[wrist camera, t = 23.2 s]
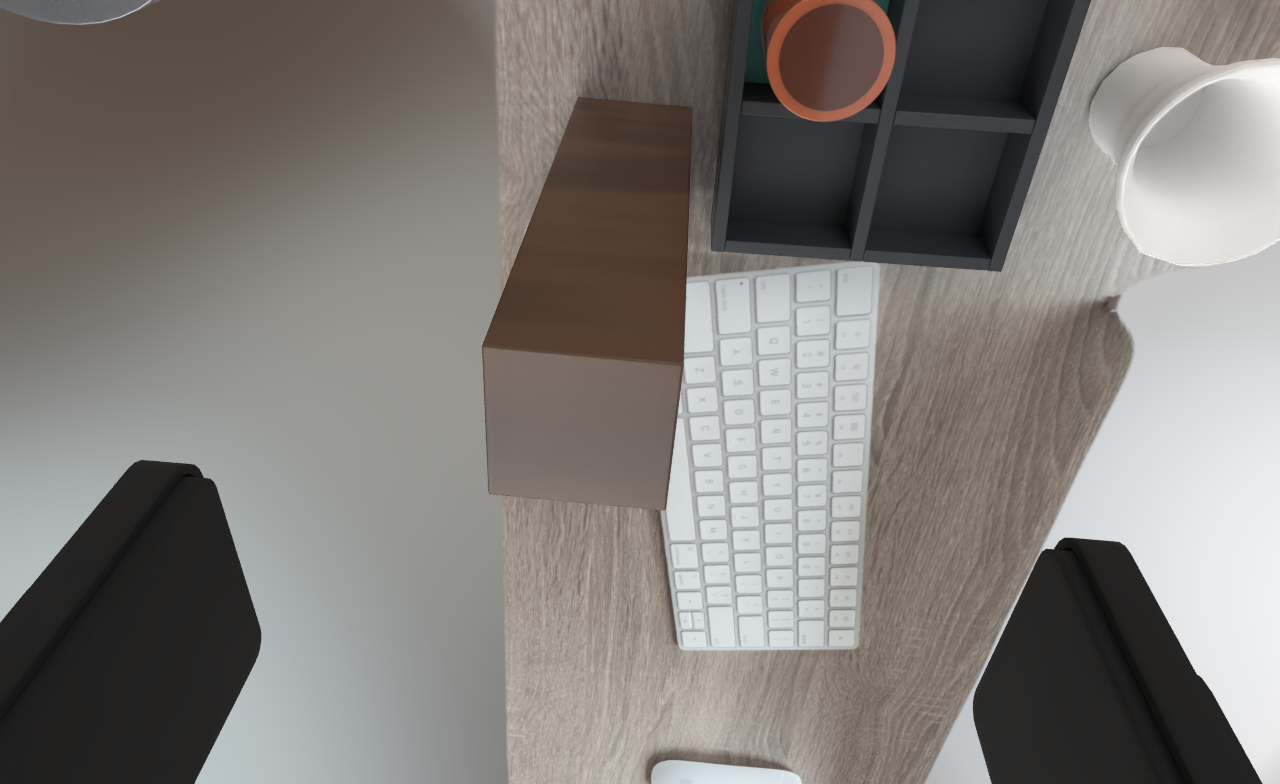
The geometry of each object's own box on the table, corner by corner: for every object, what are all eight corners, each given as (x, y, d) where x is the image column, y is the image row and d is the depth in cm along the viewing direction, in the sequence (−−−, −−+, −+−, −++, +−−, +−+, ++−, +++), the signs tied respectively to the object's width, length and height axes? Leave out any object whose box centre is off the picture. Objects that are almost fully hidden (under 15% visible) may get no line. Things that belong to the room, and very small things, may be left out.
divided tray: (710, 222, 48) (711, 251, 46) (742, -85, 40) (746, -74, 37) (983, 241, 48) (1001, 272, 45) (1078, -64, 39) (1108, -51, 36)
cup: (1285, 48, 41) (1426, 114, 33) (1142, 210, 47) (1235, 302, 38) (1138, -38, 40) (1249, 11, 32) (1007, 140, 45) (1074, 222, 37)
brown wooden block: (577, 96, 45) (481, 345, 25) (692, 107, 45) (683, 363, 25) (574, 204, 48) (488, 494, 29) (681, 214, 48) (665, 511, 29)
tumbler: (737, -3, 41) (743, 37, 35) (839, -68, 39) (864, -38, 33) (787, 92, 43) (801, 145, 37) (885, 35, 41) (916, 81, 35)
